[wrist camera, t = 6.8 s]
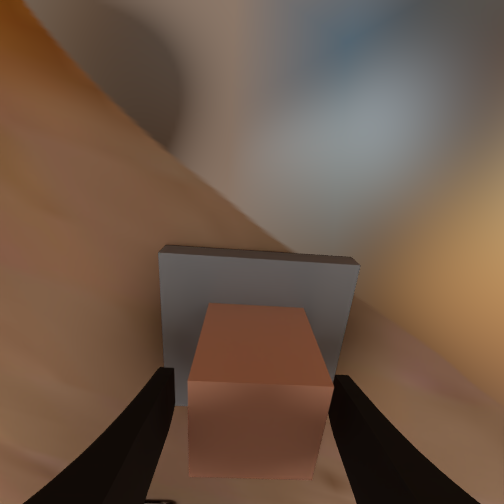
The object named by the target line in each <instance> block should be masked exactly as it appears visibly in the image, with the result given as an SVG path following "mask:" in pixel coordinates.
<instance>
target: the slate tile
mask: <svg viewBox="0 0 504 504" xmlns="http://www.w3.org/2000/svg"><path fill="white" fill-rule="evenodd" d="M158 258H159V277H160V296H161V316H162V335H163V354H164V367H168V368H174V374H175V406H188V377H189V374H190V370H191V366H192V363H193V359H194V355H195V352H196V348H197V345H198V341H199V337H200V334H201V330H202V326H203V323H204V319H205V315H206V312H207V308H208V304H209V303H222V304H241V305H259V306H278V307H296V308H304V310H305V313H306V316H307V318H308V321H309V323H310V326H311V328H312V331H313V334H314V336H315V339H316V341H317V344H318V346H319V349H320V352H321V354H322V357H323V359H324V362H325V364H326V367H327V370H328V372H329V375H330V377H331V380H332V382H333V380H334V376H335V372H336V367H337V363H338V359H339V355H340V351H341V346H342V342H343V338H344V334H345V329H346V325H347V321H348V317H349V312H350V308H351V304H352V300H353V295H354V291H355V287H356V282H357V278H358V273H359V270H360V265H359V264H358V263H357V262H356V261H355V260H354V259H353V258H351V257H343V256H328V255H313V254H297V253H282V252H266V251H251V250H235V249H220V248H205V247H189V246H174V245H165V246H164V247H163V248H162V249H161V250H160V251H159V252H158Z"/></svg>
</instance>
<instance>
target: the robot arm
mask: <svg viewBox="0 0 504 504" xmlns="http://www.w3.org/2000/svg"><path fill="white" fill-rule="evenodd" d="M333 385H334V390H333V394H332V398H331V403H330V407H329V411H328V414H329V419H330V423H331V427H332V431H333V435H334V438H335V441H336V444H337V447H338V450H339V453H340V456H341V459H342V462H343V465H344V468H345V471H346V473H347V476H348V479H349V482H350V485H351V488H352V491H353V494H354V497H355V500H356V503H357V504H480V503H479V502H477V501H476V500H475V499H474V498H472V497H471V496H470V495H469V494H468V493H466V492H465V491H464V490H463V489H462V488H460V487H459V486H458V485H457V484H455V483H454V482H453V481H452V480H451V479H449V478H448V477H447V476H446V475H445V474H444V473H442V472H441V471H440V470H439V469H438V468H437V467H436V466H435V465H434V464H432V463H431V462H430V461H429V460H428V459H427V458H426V457H425V456H424V455H423V454H421V453H420V452H419V451H418V450H417V449H416V448H415V447H414V446H413V445H412V444H411V443H410V442H409V441H408V440H407V439H406V438H405V437H404V436H403V435H402V434H401V433H400V432H399V431H398V430H397V429H396V428H395V427H394V426H393V425H392V424H391V423H390V422H389V420H388V419H387V418H386V417H385V416H384V415H383V414H382V413H381V412H380V411H379V410H378V409H377V407H376V406H375V405H374V404H373V403H372V402H371V401H370V400H369V398H368V397H367V396H366V395H365V394H364V393H363V392H362V390H361V389H360V388H359V387H358V386H357V385H356V383H355V382H354V381H353V380H352V379H351V378H350V377H349V376H348V375H335V377H334V381H333ZM174 407H175V374H174V368H168V367H160V368H159V369H158V370H157V371H156V372H155V374H154V375H153V376H152V377H151V379H150V380H149V381H148V383H147V384H146V385H145V386H144V388H143V389H142V390H141V391H140V392H139V394H138V395H137V396H136V397H135V398H134V399H133V401H132V402H131V403H130V404H129V405H128V406H127V408H126V409H125V410H124V411H123V412H122V413H121V414H120V415H119V416H118V417H117V419H116V420H115V421H114V422H113V423H112V424H111V425H110V426H109V427H108V428H107V429H106V430H105V431H104V432H103V433H102V434H101V435H100V436H99V437H98V438H97V439H96V440H95V441H94V442H93V443H92V444H91V445H90V446H89V447H88V448H87V449H86V450H85V451H84V452H83V453H82V454H81V455H80V456H79V457H78V458H76V459H75V460H74V461H73V462H72V463H71V464H70V465H69V466H67V467H66V468H65V469H64V470H63V471H62V472H61V473H60V474H58V475H57V476H56V477H55V478H54V479H53V480H51V481H50V482H49V483H48V484H47V485H46V486H44V487H43V488H42V489H41V490H40V491H38V492H37V493H36V494H35V495H33V496H32V497H31V498H29V499H28V500H27V501H26V502H24V503H23V504H160V503H144V502H145V499H146V496H147V492H148V490H149V487H150V484H151V481H152V478H153V475H154V472H155V469H156V466H157V463H158V460H159V458H160V455H161V452H162V449H163V446H164V443H165V440H166V437H167V434H168V431H169V428H170V424H171V420H172V415H173V411H174Z"/></svg>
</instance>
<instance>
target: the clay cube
mask: <svg viewBox="0 0 504 504" xmlns="http://www.w3.org/2000/svg"><path fill="white" fill-rule="evenodd" d="M333 390H334V385H333V382H332V380H331V377H330V375H329V372H328V370H327V367H326V364H325V362H324V359H323V357H322V354H321V352H320V349H319V346H318V344H317V341H316V339H315V336H314V334H313V331H312V328H311V326H310V323H309V321H308V318H307V316H306V313H305V310H304V308H296V307H278V306H259V305H241V304H222V303H209V304H208V308H207V312H206V315H205V319H204V323H203V326H202V330H201V334H200V337H199V341H198V345H197V348H196V352H195V355H194V359H193V363H192V366H191V370H190V374H189V377H188V442H189V477H210V478H249V479H288V480H312V479H313V474H314V470H315V466H316V462H317V457H318V453H319V449H320V445H321V441H322V436H323V432H324V428H325V424H326V419H327V415H328V411H329V407H330V403H331V398H332V394H333Z"/></svg>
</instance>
